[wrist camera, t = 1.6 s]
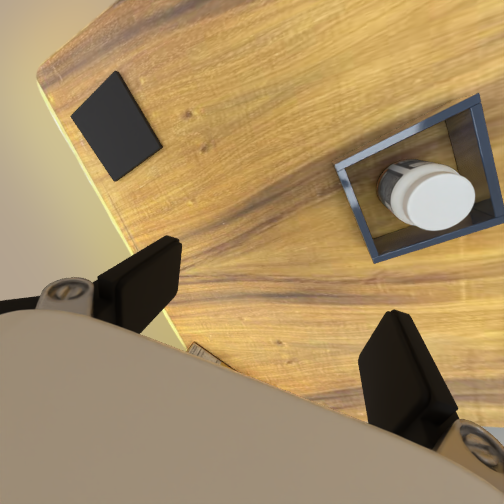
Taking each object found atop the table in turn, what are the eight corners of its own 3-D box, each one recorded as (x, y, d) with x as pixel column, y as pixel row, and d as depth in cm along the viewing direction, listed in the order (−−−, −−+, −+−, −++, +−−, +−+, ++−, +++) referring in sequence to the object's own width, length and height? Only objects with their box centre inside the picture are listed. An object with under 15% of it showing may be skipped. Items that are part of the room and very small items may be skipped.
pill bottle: (398, 217, 30) (431, 250, 21) (364, 187, 29) (384, 207, 21) (443, 181, 27) (502, 200, 18) (406, 146, 27) (449, 150, 18)
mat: (73, 116, 35) (70, 116, 34) (118, 71, 31) (114, 70, 30) (116, 181, 37) (113, 181, 37) (162, 147, 33) (160, 147, 33)
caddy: (331, 160, 29) (333, 164, 25) (450, 100, 24) (479, 92, 20) (366, 247, 32) (374, 264, 28) (477, 208, 27) (508, 222, 23)
